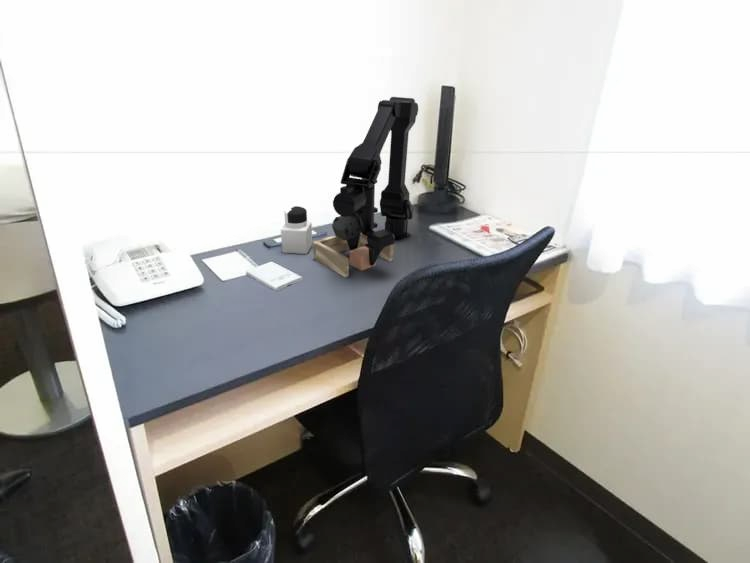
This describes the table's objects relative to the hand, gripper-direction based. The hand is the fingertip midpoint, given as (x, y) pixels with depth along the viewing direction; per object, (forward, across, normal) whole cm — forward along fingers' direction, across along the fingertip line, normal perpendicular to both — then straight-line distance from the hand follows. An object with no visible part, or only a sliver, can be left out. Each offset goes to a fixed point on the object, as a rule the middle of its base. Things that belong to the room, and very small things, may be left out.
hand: (362, 260), depth 128 cm
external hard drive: (+2, -8, -22) cm, 24 cm away
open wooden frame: (+1, -4, 0) cm, 4 cm away
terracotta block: (+1, 0, 0) cm, 1 cm away
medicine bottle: (+2, -20, -8) cm, 21 cm away
